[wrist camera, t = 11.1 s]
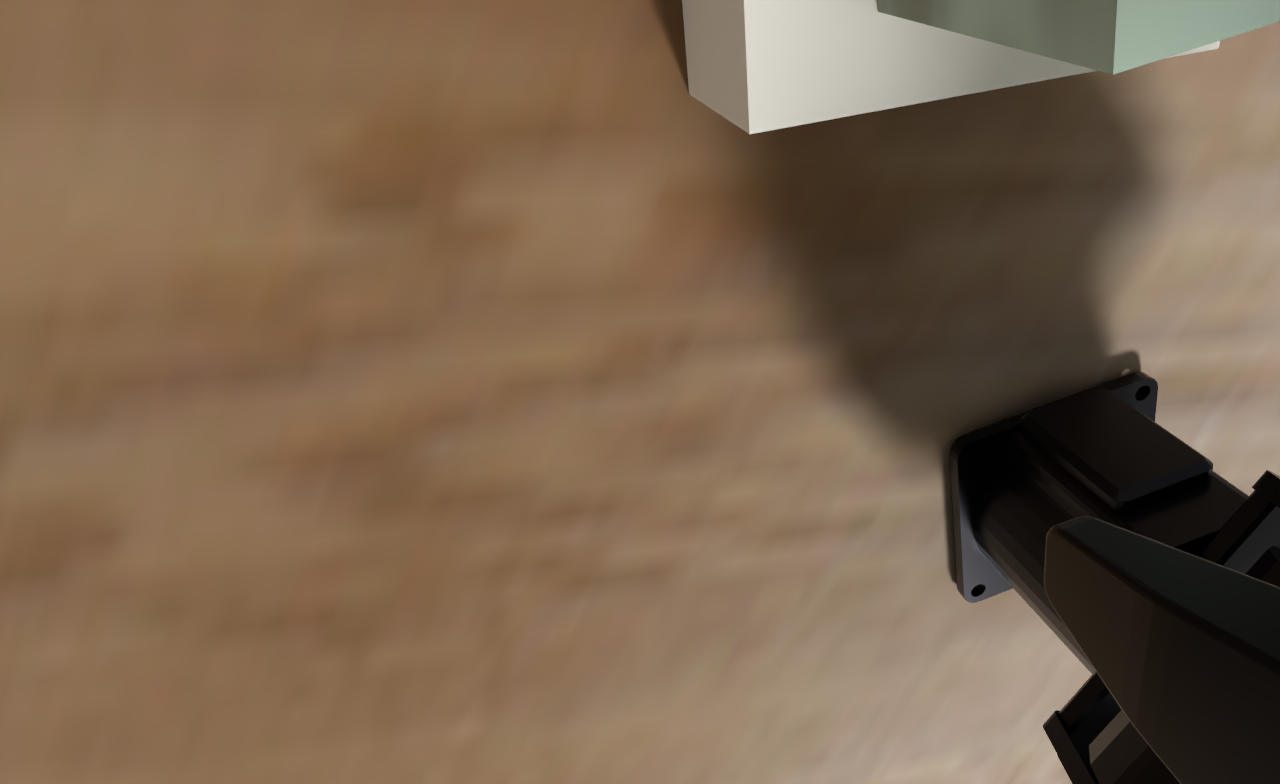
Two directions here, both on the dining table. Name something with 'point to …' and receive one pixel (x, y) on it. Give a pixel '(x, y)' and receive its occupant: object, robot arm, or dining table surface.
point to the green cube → (1093, 25)
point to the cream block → (839, 61)
